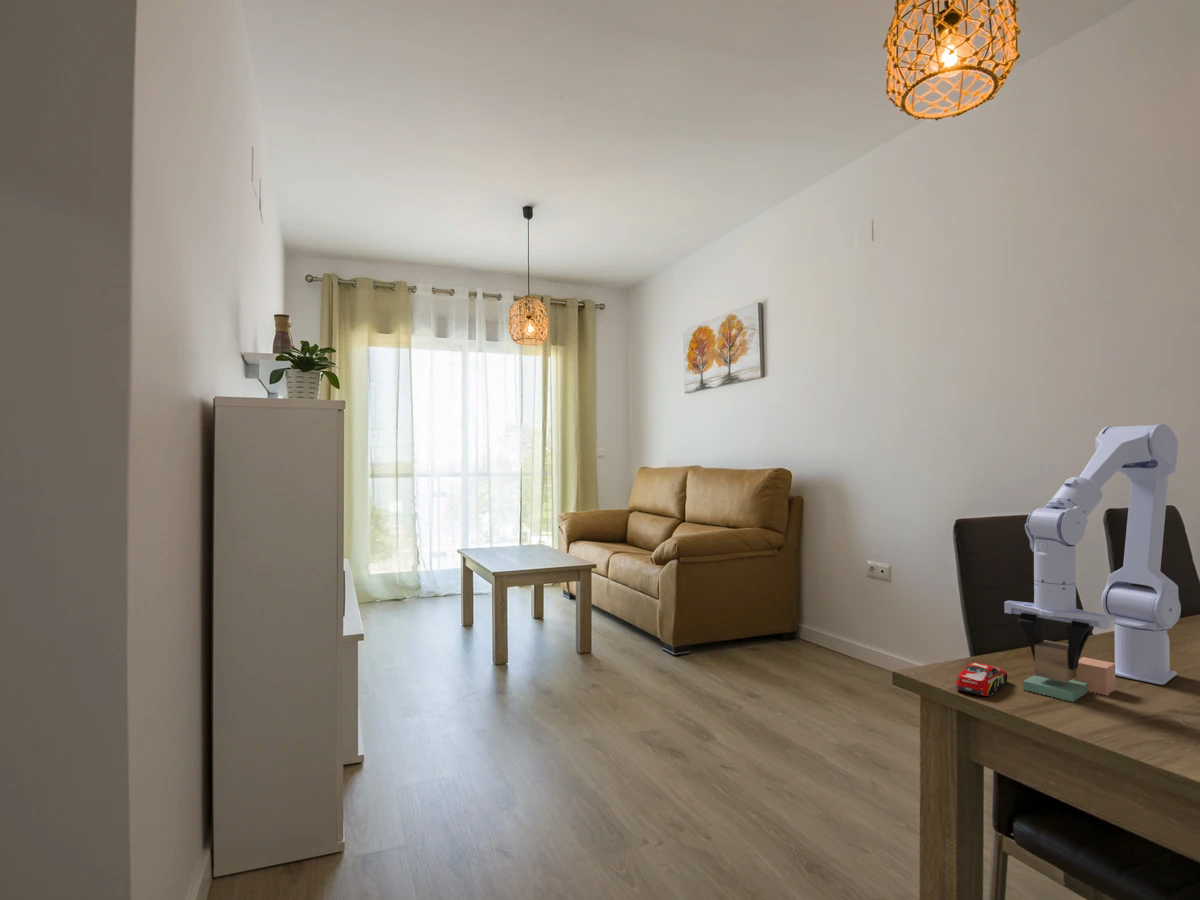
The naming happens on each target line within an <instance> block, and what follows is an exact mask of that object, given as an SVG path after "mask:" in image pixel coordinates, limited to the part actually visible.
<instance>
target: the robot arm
mask: <svg viewBox="0 0 1200 900" xmlns="http://www.w3.org/2000/svg"><path fill="white" fill-rule="evenodd" d="M1094 443H1095V445H1094V446H1095V452H1094V453H1093V455H1092V456H1091V457H1090V460H1089V461H1088V463H1087V464H1086V466H1085V467H1084V469H1083V471H1082V472H1081V473H1080V475H1079V476H1072V477H1070V478H1067V479H1066V480H1065V481H1064V482H1063V484H1062V485H1061V487H1060V488H1059V489H1058V490H1057V491H1056V493H1054V494H1053V496H1052V497H1051V499H1050V500H1049V501H1048V502H1047V503H1046V505H1044V507H1039V508H1035V510H1033V511H1032V512H1030V513H1029V514H1028V516H1027V519H1026V523H1025V524H1024V530H1025V534H1026V535H1027V537H1028V540H1029V548H1030V550H1031V551H1032V552H1033V583H1034V585H1033V590H1034V591H1033V593H1034V595H1033V602H1027V601H1016V600H1011V599H1010V600H1006V601H1004V613H1005V614H1010V615H1011V614H1015V615H1020V616H1019V617H1020V618H1018V619H1017V621H1018V625H1019V626H1020V627H1021V629H1022V631H1023V634H1024V635H1025V637H1026V639H1027V641H1028V644H1029V647H1030V650H1031V653H1032V654H1031V655H1032V659H1033V662H1034V663H1035V645H1036V644H1038V643H1040V642H1042V641H1044V628H1045V623H1046V622H1045V621H1046V620H1051V621H1057V622H1065V623H1070V624H1069V625H1066V626H1065V631H1066V637H1067V644H1068V648H1069V651H1068V659H1069V669H1072V670H1074V669H1076V668H1078V662H1079V659H1080V658H1081V655H1082V651H1083V649H1084V646H1085V645H1086V642H1087V641H1088V639H1089V637H1090V635H1091V633H1092V632H1093V631H1094V629H1095V628H1098V629H1100V630H1108V629H1110V628H1111V622H1112V623H1114V663H1115V677H1121V678H1125V679H1131V680H1135V681H1140V682H1146V683H1151V684H1154V685H1155V684H1156V685H1159V686H1161V685H1162V686H1164V685H1166V684H1167V683H1168V682H1169V681H1170V680H1172V679H1173V678H1174V677H1175V676H1176V675H1178V673H1177V671H1174V670H1171V669H1170V663H1171V662H1170V660H1171V659H1170V637H1169V635H1168V630H1169V629H1172V627H1173V626H1175V625H1176V624H1177V622H1178V621H1179V619H1180V617H1181V609H1182V606H1181V602H1180V598H1179V585H1177V584H1176V583H1175V582H1174V581H1173V580H1172V579H1170V578H1169V577H1168V576H1166V575H1165V574H1164V573H1163V572H1162V570H1161V566H1162V565H1161V564H1162V556H1163V555H1162V554H1163V544H1164V543H1163V542H1164V535H1165V534H1164V532H1165V520H1166V509H1167V497H1168V489H1169V487H1168V486H1169V476H1171V475H1172V474H1174V473H1175V472H1176V466H1177V458H1178V449H1179V448H1178V447H1179V440H1178V437H1177V435H1175V433H1174V430H1172V429H1171V427H1170V426H1169V425H1167V424H1164V423H1158V424H1151V425H1150V424H1149V425H1147V424H1146V425H1145V424H1144V425H1128V426H1127V425H1124V426H1123V425H1122V426H1113V425H1109V426H1108V425H1107V426H1105V427H1103V428H1102V429H1101V430H1100V432H1099V434H1098V435H1097V436H1096V437H1095V441H1094ZM1117 472H1119V473H1121V474H1125V475H1126V477H1128V479H1129V480H1130V488H1129V500H1128V511H1127V521H1126V532H1125V533H1126V534H1125V541H1124V542H1125V544H1124V552H1123V553H1124V554H1123V555H1124V556H1123V564H1122V565H1123V566H1122V567H1120V568H1119V569H1117V570H1114V571H1113V572H1111V573H1110V574H1108V576H1107V580H1106V585H1105V587H1104V590H1103V591H1102V594H1101V606H1102V609H1103V611H1104V613H1105V614H1103V613H1098V612H1092V611H1088V610H1084V609H1079V608H1077V571H1076V570H1077V565H1076V564H1077V562H1076V561H1077V558H1076V557H1077V552H1076V549H1077V548H1076V545H1077V544H1079V543H1080V541H1082V540H1083V539H1084V536H1085V532H1086V526H1087V525H1088V517H1089V516H1090V515H1091V514H1092V512H1093V511H1094V510H1095V508H1096V507H1097V506H1098V505H1099V504H1100V502H1101V501H1102V499H1103V492H1102V489H1101V488H1103V486H1104V485H1105V484H1106V483H1108V482H1109V481H1110V479H1111V478H1112V477H1114V475H1115V474H1116V473H1117ZM1132 584H1133V586H1132ZM1134 584H1136V585H1140V586H1141V585H1142V586H1148V587H1150V588H1146V587H1139V586H1134Z"/></svg>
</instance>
